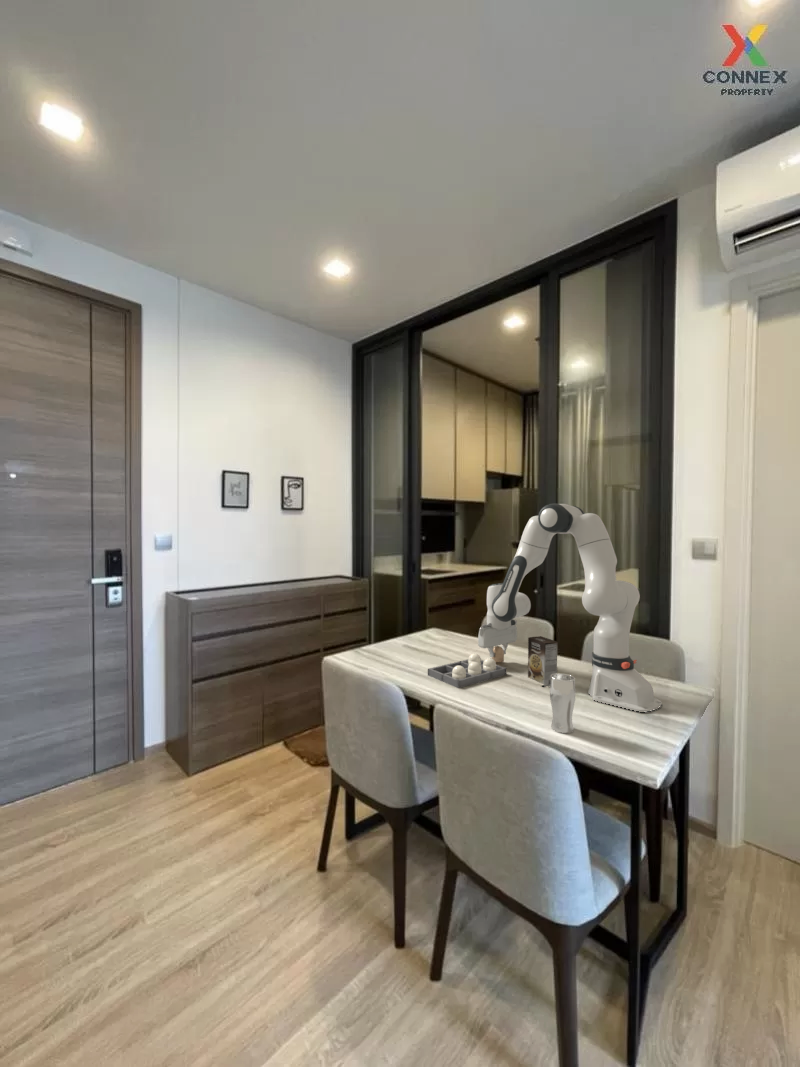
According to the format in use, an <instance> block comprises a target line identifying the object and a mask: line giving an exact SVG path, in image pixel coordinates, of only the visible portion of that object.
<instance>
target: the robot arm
mask: <svg viewBox="0 0 800 1067" xmlns="http://www.w3.org/2000/svg"><path fill="white" fill-rule="evenodd" d="M556 534H560V535H567V534H568V535H570V534H571V535H572V536H573V537H574V540H575V543H576V546H577V550H578V552H579V556H580V560H581V562H582V566H583V570H584V573H583V574H584V591H583V593H582V595H581V603H582V606H583V607H584V609H585V611H586V612H587V613H589V614H590V615H593V616H597V617H599V619H598V621H597V623H596V625H595V627H594V629H593V650H592V652H591V666H592V673H591V679H590V684H589V687H588V690H587V693H588V695H589V694H590V697H592V698H593V699H592V698H591V699H592V701H594V700H595V701H594V702H597V701H598V702H597V703H601V702H602V703H601V704H605V703H606V704H605V705H608V704H610V705H609V706H612V705H614V706H613V707H616V706H618V708H620V707H622V708H621V709H624V708H626V709H625V710H628V709H630V710H629V711H632V710H634V711H633V712H636V711H639V712H638V713H640V712H644V711H650V710H653V709H656V708H658V707H659V706H661V704H662V705H663V702H662V700H661V699H658V698H656V697H655V693H654V692H655V691H654V687H653V685H652V683H650V681H648V679H646V678H645V677H644V676H643V675H642V674H641V673H640V672H639V671H637V669H635V664H637V659H634V660H633V659H632V658H631V656H630V633H631V632H630V631H631V627H632V623H633V618H634V614H635V610H636V606H637V605H638V603H639V602H640V598H641V597H640V596H641V595H640V590H639V589H638V588H637V586H635V584H633V583H631V582H628V581H626V580H625V581H624V580H617V575H616V574H617V573H616V569H617V568H616V567H617V564H618V558H617V555H616V552H615V550H614V547H613V544H612V540H611V538H610V535H609V533H608V530H607V527H606V525H605V524H604V522H603V520H602V518H601V517H600V516H599V515H598V514H596V513H592V512H587V513H586V512H585V511H584V510H583V509H582V508H580V507H578V506H576V505H570V504H567V503H549V504H546V505H544V506H543V507H542V508H541V509H540V511H539V512H538V515H534V516H531V517H530V518H529V519H528V521H527V523H526V525H525V527H524V529H523V531H522V535H521V536H520V540H519V544H518V547H517V550H516V553H515V555H514V557H513V559H512V561H511V562H510V564H509V567H508V570H507V572H506V574H505V577H504V579H503V582H501V583H492V584H490V585H489V586H488V587H487V590H486V608H487V612H486V624H482V625H481V626H480V628H479V630H478V636H477V637H478V638H477V646H478V647H479V648H481V649H487V650H488V652H489V658H492V657H495V652H493V649H494V647H495V646H502V648H503V650H504V655H506V654H507V649H508V646H509V644H510V643H515V642H516V641H517V638H518V627H517V625H518V621H517V620H516V619H517V618H520V617H523V616H525V615H526V616H527V615H528V614H529V612H530V611H531V609H532V603H531V600H530V597H529V596H528V595H527V594H525V593H523V592H519V590H520V588H521V585H522V582H523V580H524V578H525V576H526V575H527V574H529V573H530V572H531V571H532V570H534V569H535V568H537V567H538V566H541V565H542V564H543V562H544V561H545V559H546V557H547V555H548V552H549V550H550V545H551V542H552V539H553V537H554V536H555V535H556ZM661 707H662V706H661Z"/></svg>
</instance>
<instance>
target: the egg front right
mask: <svg viewBox="0 0 800 1067" xmlns="http://www.w3.org/2000/svg"><path fill="white" fill-rule="evenodd" d="M483 661H484V662H483V669H485V670H487V671H493V670H496V665H497V662H495V661H494V660H493V659H492V657H488V658H487V657H486V658H485V659H484V660H483Z"/></svg>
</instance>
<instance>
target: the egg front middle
mask: <svg viewBox="0 0 800 1067" xmlns="http://www.w3.org/2000/svg"><path fill="white" fill-rule="evenodd" d="M468 673H469V674H472V675H478V674H481V665H480V664H479V663H478V662H471V663H470V664H469V666H468Z"/></svg>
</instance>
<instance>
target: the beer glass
mask: <svg viewBox="0 0 800 1067" xmlns="http://www.w3.org/2000/svg"><path fill="white" fill-rule="evenodd" d="M576 692H577V691H576V678H575V676H573V675H571V674H568V673H559V672H557V673H555V674H552V675H551V679H550V686H549V699H550V704H551V705H550V706H551V712H552V718H551V725H550V728H551V730H552V731H554V730H555V731H554V732H556V731H557V733H559V732H562V733H561V734H571V733H570V732H572V731H573V732H574V724H573V713H574V708H575V702H576V694H577V693H576ZM573 732H572V733H573Z"/></svg>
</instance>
